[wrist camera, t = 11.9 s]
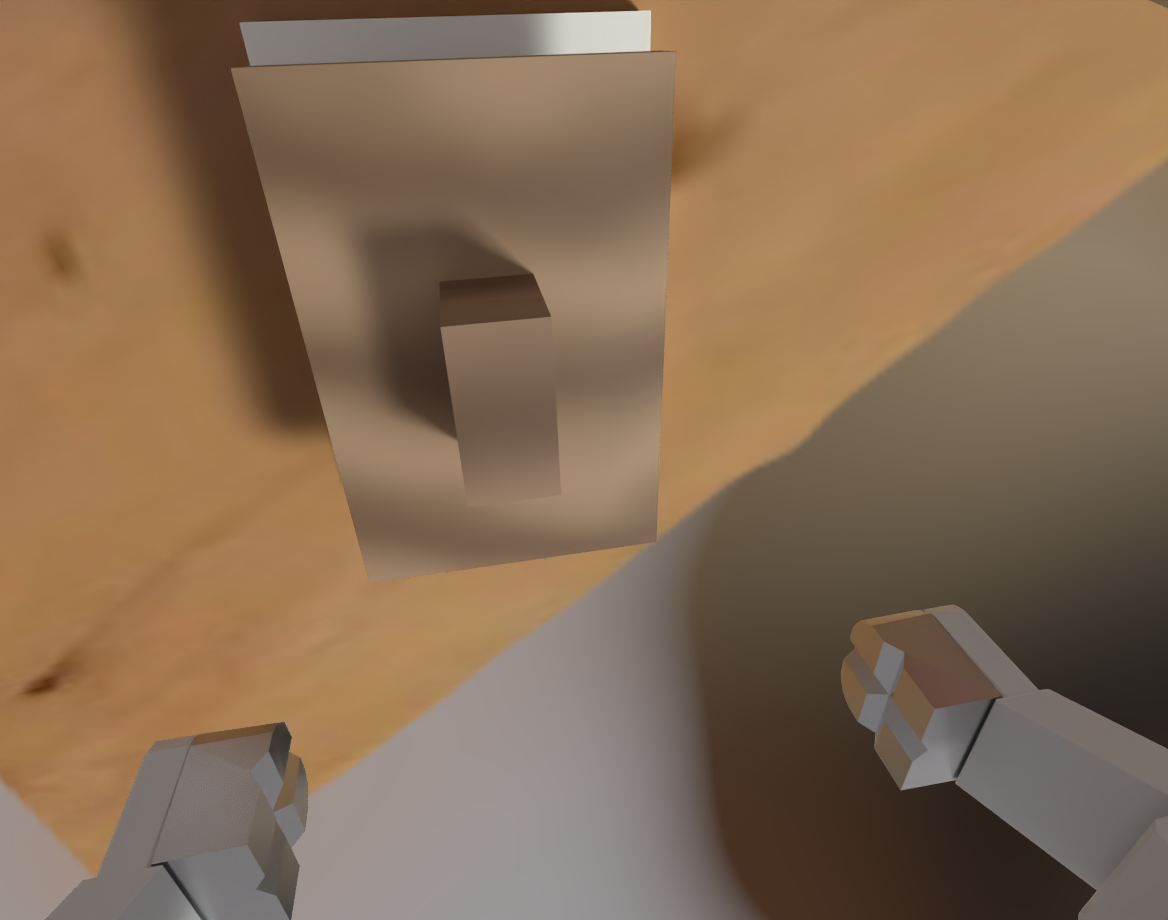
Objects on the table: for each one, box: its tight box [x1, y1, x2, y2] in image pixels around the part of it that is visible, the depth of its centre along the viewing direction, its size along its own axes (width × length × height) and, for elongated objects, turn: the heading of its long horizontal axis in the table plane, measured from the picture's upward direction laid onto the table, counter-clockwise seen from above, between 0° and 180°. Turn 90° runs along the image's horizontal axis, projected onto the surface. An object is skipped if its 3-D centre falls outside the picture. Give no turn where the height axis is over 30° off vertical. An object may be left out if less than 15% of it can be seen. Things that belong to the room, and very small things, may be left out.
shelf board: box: [230, 51, 676, 583], centre depth 22 cm, size 18×12×6 cm, turn 2°
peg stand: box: [239, 11, 651, 66], centre depth 27 cm, size 20×14×6 cm
